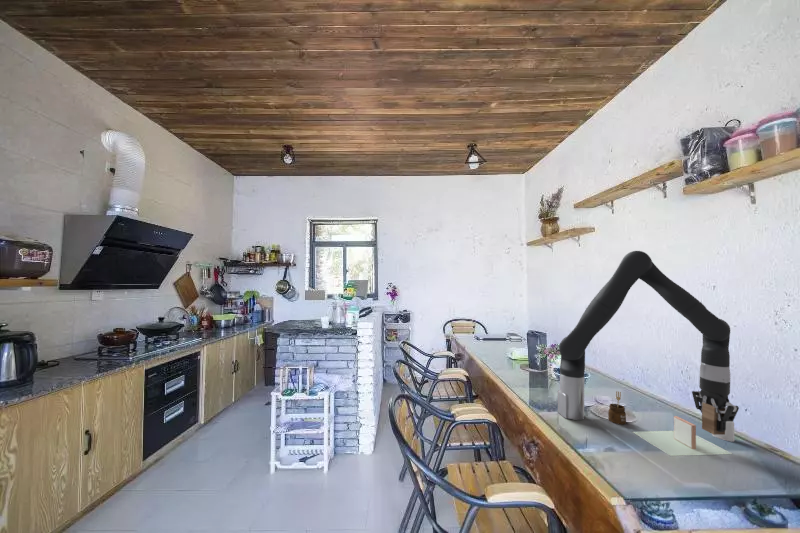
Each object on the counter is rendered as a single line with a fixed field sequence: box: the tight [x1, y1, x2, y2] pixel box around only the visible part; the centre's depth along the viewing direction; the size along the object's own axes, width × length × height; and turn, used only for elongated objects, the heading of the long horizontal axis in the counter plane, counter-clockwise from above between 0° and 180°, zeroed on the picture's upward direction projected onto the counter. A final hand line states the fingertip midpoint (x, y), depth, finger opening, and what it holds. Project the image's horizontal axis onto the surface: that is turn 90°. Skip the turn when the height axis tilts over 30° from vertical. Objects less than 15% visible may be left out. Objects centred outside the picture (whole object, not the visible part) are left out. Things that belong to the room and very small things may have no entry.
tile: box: [673, 415, 697, 449], centre depth 115 cm, size 1×7×8 cm, turn 4°
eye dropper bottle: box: [711, 420, 735, 443], centre depth 119 cm, size 4×6×12 cm
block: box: [701, 403, 725, 435], centre depth 112 cm, size 4×4×9 cm
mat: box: [632, 430, 733, 457], centre depth 116 cm, size 22×16×1 cm
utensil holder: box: [607, 390, 627, 425], centre depth 132 cm, size 6×6×12 cm
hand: (713, 427), depth 111 cm, fingers closed on block, 4 cm apart
